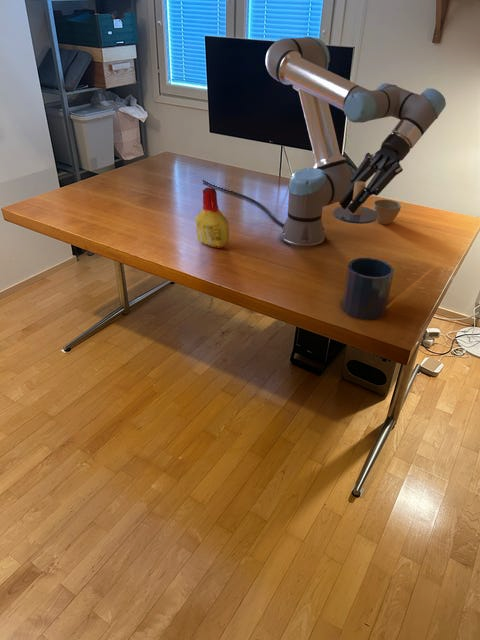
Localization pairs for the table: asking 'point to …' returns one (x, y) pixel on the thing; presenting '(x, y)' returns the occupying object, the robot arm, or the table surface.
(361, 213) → the lid
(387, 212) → the flower pot
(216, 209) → the bottle
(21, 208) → the table surface
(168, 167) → the table surface
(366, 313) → the dark blue cylinder
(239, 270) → the table surface
